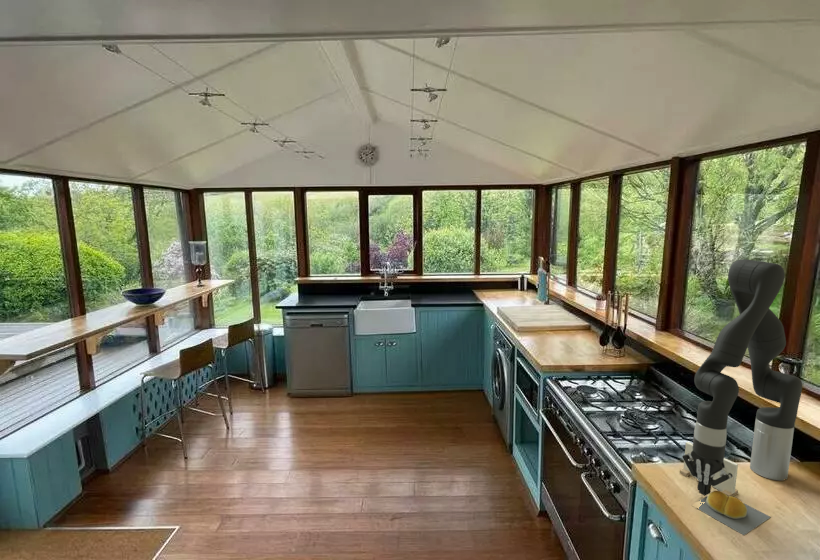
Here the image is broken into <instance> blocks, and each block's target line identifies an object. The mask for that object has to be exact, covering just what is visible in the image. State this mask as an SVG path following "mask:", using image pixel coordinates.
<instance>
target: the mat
mask: <svg viewBox="0 0 820 560" xmlns="http://www.w3.org/2000/svg"><path fill="white" fill-rule="evenodd" d="M716 491H720V490H718V489H716ZM720 492H722V491H720ZM707 497H708V495H706V496H704V497H703V498H701V499H699V500H698V501H700V500H701V502H705V503H704V504H703V503H702V505H701V506H700V507H699V509H698V510H699V511H700V510H701V512H702V513H704V514H706V515H708V516H709V517H711V518H713V519H714V520H716V521H717V522H719V523H722V524H723V525H725V526H727V527H728V528H730V529H732V530H733V531H735V532H737V533H739V534H741V535H742V536H746V535H747V534H748V533H750V532H751V531H753V530H754V529H756V528H758V527H759V526H760V525H762V524H763V523H765V522H766V521H768V520H769V519H770V518H771V516H769V515H768V514H766V513H764V512H762V511H760V510H758V509H756V508H754V507H752V506H751V505H749V504H746V503H745V502H743V503H744V505H745V506H746V508H747V515H746V516H745V517H744V518H738V519H733V518H729V517H727V516H725V515H724V514H721V513H718V512H716V511H714V510H713V509H712V508H710V507H709V506H708V505H707V503H706V499H707ZM700 504H701V503H700Z"/></svg>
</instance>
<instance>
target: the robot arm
mask: <svg viewBox="0 0 820 560" xmlns="http://www.w3.org/2000/svg"><path fill="white" fill-rule="evenodd" d="M728 269H729V270H728V273H727V277H728V279H727V280H728V286H729V287H730V291H731V294H732V296H733V299H734V301H735V304H736V307H737V310H738V313H739V314H738V316H736V317H735V318H733V319H732V320H731V321H729V322H728V323H727V324H726V325H725V326H723V327H722V328H721V330H720V332H719V333H718V335H717V338H716V339H715V343H714V345H713V348H712V351H711V353H710V354H709V355H708V357H706V359H705V360H704V361H703V363H702V364H701V365H700V367H698V369H697V370H696V372H695V374H694V378H693V379H694V385H695V387H696V389H698V390H699V391H700V392H702V393H704V394H707V395H709V396H711V397H713V398H712V401H711V400H704V401H701V402H699V404H698V407H697V414H696V420H695V421H696V423H695V425H694V431H693V439H692V440H693V441H692V444H693V451H692V452H691V454H689V453H688V454H685V453H684V454H683V455H682V459H683V462H684V461H685V463H686V465H687V467H688V469H689V470H690V472H691V474H692V476H691V477H693V476H695V477H696V478H695V477H694V478H695V479H696V480H697V491H698V493H699V494H701V495H702V496H704V497H706V496H708V495H709V494H710V493H711V492H712V486H716V485H718V484H720V483H722V482H724V481H726V480H728V479H730V478H732V477H733V475H732V474H731V473H728V472H727V471H726V470H725V465H724V462H723V460H724V458H725V453H726V444H727V436H728V433H727V427H728V419H729V417H728V416H729V414H730V412H731V410H732V407H733V406H734V403H735V401H736V400H737V398H738V397H739V393H740V389H739V387H740V386H739V383H738V382H737V380H736V379H735V378H734V377H732V376H730V375H728V374H725V373H723V372H722V371H723V370H724V369H725V368H726V367H727V368H728V367H730V368H739V367H740V366H741V364H742V362H743V360H744V357H745V354H746V353H747V351H748V355H749V360H750V367H751V369H750V370H751V381H752V387H753V390H754V393H755V394H756V395H757V396H758V397H760V398H763V399H766V400H769V401H773V402H776V403H779V404H780V405H779V406H778V407H772V406H770V407H769V406H767V407H766V406H765V407H759V408H758V409H756V410H757V411H756V414H755V415H756V416H755V421H754V429H753V431H754V432H753V439H752V448H751V455H750V464H749V467H750V470H751V471H753V472H754V473H756V474H757V475H759V476H761V477H763V478H766V479H769V480H773V481H785V480H784V479H786V480H788V478H789V477H788V476H789V468H790V462H791V454H792V449H793V448H792V447H793V439H794V432H795V425H796V421H797V416H798V409H799V405H800V401H801V397H802V396H801V395H802V392H803V391H802V390H803V382H802V380H801V379H800V377H798V376H796V375H792V374H788V373H783V372H779V371H776V370H773V369H772V368H771V367H770V363H771V362H772V361H773V360H775V358H777V357H778V356H779V355H780V354H781V353H782V352H783V351H784V350H785V347H786V346H787V340H786V333H785V328H784V325H783V322H782V321H781V320H780V319H779V317H778V316H777V315H776V314H775V312H773V310H771V309H770V308H771V306H772V304H773V303H774V301H775V299H776V298H777V296H778V294H779V293H780V291H781V289H782V288H783V287H782V286H783V284H784V281H785V270H784V268H783V267H782V266H781V265H780V264H778V263H776V262H775V263H773V262H767V261H761V260H754V259H745V258H744V259H742V258H741V259H738V260H737V259H736V260H735V261H733V262H732V264H731V265H730V267H729V268H728ZM719 471H721V473H720V478H718V479H716V480H714V479H713V478H714V476H715V473H717V472H719ZM711 485H712V486H711Z"/></svg>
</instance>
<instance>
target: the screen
mask: <svg viewBox="0 0 820 560" xmlns="http://www.w3.org/2000/svg"><path fill="white" fill-rule="evenodd" d="M684 449H685V450H684V455H685V454H688V453H689V454H691V452H692V451H693V442H689V441H687V442H685V448H684ZM723 462H724V465H725V470H726V471H727V472H728V473H731V474H732V475H733V477H732V478H730V479H728V480H726V481H724V482H722V483H720V484H718V485H716V486H712V485H711V488H714V489H715V490H719V491H721V492H723V493H724V494H726V495H727V496H728V497H729V496H731V497H734V496H736V495H738V494H739V490H738V489H737V488H736V487H737V485H736V484H737V477H738V467H739V464H738V463H736V462H734V461H733V460H730V459H729V458H728V459H727V458H725V457H724V460H723ZM720 473H721V471H719V472H717V473H715V476H714V478H713V479H714V480H716V479H718V478H720ZM679 474H681V475H682V476H683V477H688V476H691V477H693V478H695V479H697V478H696V477H695V476H692V474H691V472H690V470H689V469H688V467H687V465H686V463H685V461H684V460H683V467H682V468H681V469H680V470H679Z"/></svg>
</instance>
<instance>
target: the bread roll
mask: <svg viewBox="0 0 820 560" xmlns="http://www.w3.org/2000/svg"><path fill="white" fill-rule="evenodd" d="M707 496H708V497H707ZM707 496H706V497H707V499H706V503H707V505H708V506H709V507H710V508H712V509H713V510H714V511H716V512H718V513H721V514H724V515H725V516H727V517H729V518H733V519H738V518H744V517H745V516H746V515H747V508H746V506H745V505H744V503H745V502H743V501H741V500H740V499H739V498H737V497H734V496H733V497H731V496H729V497H728V496H727V495H726V494H724V493H723V492H722V491H721V492H720V490H719V491H717V490H712V491H711V492H710V494H708V495H707Z"/></svg>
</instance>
